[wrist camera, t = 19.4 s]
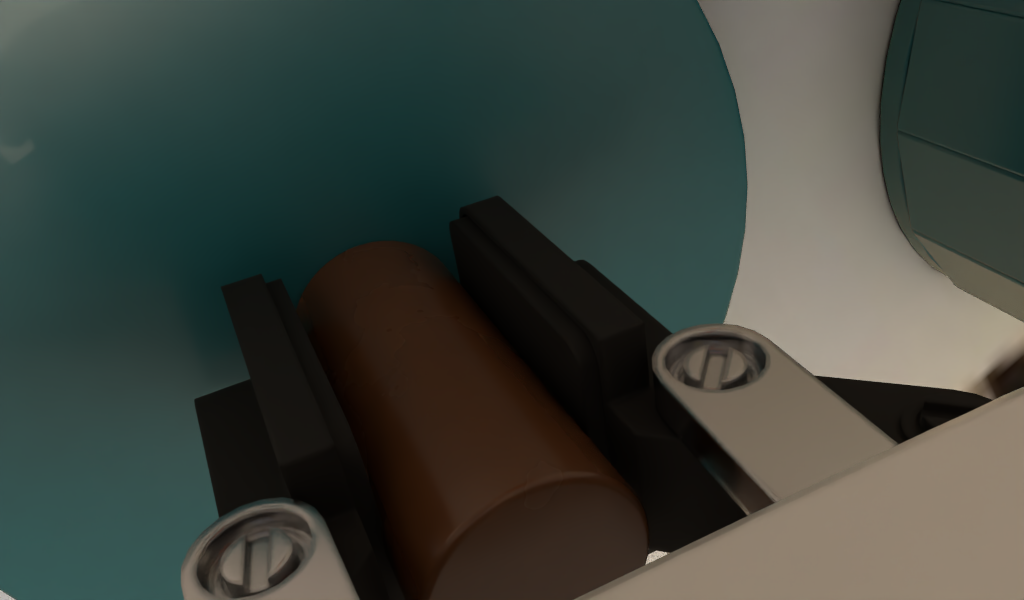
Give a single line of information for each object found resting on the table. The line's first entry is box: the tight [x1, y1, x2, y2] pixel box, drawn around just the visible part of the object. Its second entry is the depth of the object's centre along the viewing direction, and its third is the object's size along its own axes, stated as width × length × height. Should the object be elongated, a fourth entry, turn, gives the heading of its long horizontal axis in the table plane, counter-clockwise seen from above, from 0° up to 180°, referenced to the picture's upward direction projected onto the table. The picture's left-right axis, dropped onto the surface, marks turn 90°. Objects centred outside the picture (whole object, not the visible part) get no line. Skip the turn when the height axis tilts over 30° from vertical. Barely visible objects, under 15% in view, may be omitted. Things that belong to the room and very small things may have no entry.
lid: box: [0, 0, 747, 600], centre depth 11 cm, size 13×13×7 cm
